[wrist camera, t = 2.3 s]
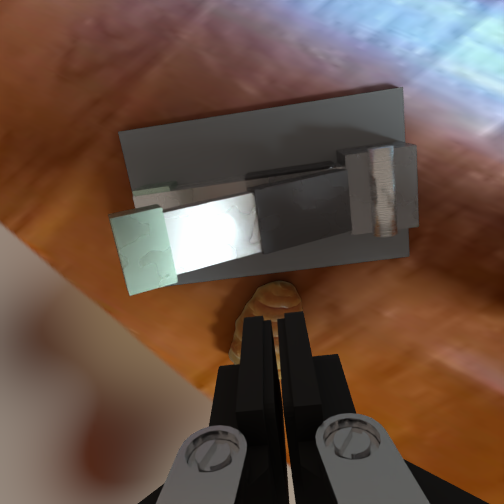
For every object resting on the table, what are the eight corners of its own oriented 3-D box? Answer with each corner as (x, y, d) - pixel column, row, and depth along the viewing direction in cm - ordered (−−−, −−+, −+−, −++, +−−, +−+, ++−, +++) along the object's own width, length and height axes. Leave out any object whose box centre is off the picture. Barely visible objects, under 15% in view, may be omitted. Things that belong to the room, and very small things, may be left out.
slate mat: (399, 87, 34) (403, 87, 33) (406, 252, 38) (409, 256, 38) (122, 131, 36) (118, 131, 35) (157, 283, 41) (154, 287, 40)
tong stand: (398, 138, 34) (420, 143, 29) (401, 215, 36) (423, 232, 31) (140, 176, 36) (118, 187, 31) (156, 247, 38) (138, 268, 33)
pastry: (246, 270, 40) (244, 285, 36) (316, 284, 40) (321, 302, 37) (227, 355, 43) (223, 378, 39) (293, 368, 43) (295, 392, 40)
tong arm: (335, 165, 31) (348, 166, 29) (340, 229, 32) (353, 233, 31) (107, 214, 26) (109, 218, 24) (126, 287, 27) (129, 295, 26)
